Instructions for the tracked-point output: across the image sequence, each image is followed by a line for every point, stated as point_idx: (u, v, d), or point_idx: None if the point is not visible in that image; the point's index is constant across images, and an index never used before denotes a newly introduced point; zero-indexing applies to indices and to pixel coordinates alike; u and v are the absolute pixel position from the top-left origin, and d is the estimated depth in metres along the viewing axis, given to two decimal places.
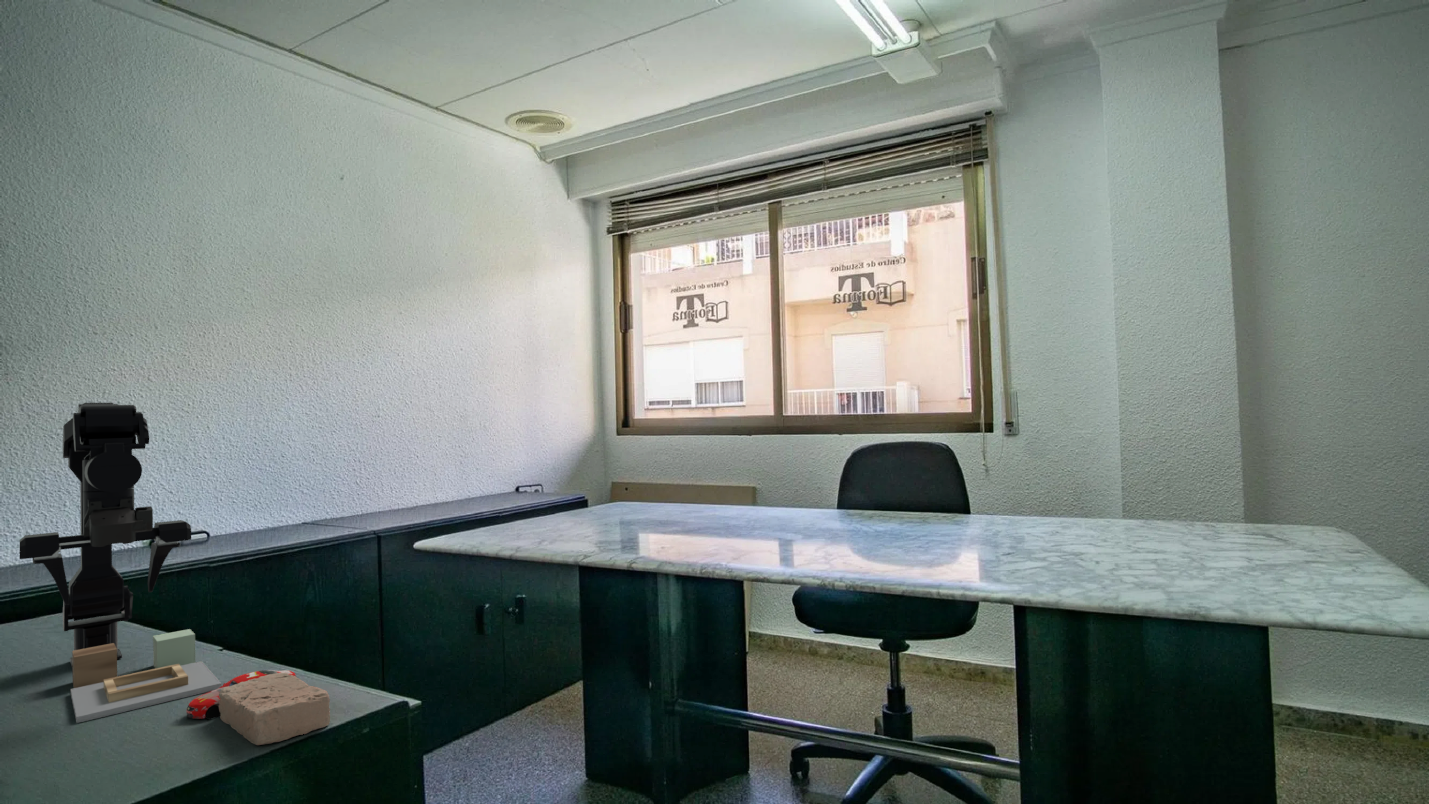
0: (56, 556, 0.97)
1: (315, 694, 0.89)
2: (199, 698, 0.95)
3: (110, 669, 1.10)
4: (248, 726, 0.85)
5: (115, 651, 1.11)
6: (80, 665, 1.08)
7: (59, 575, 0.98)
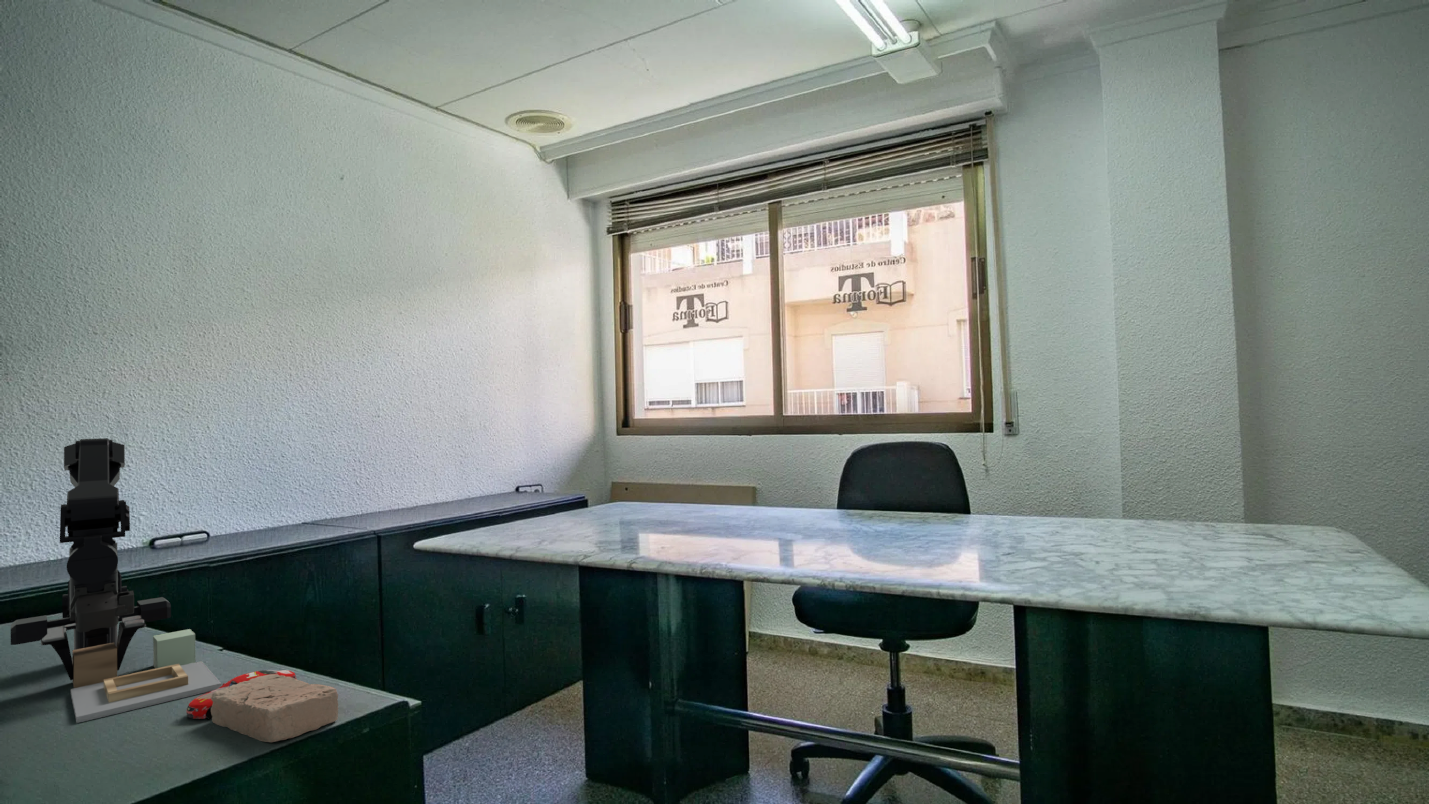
0: (62, 637, 1.07)
1: (323, 690, 0.90)
2: (199, 698, 0.95)
3: (111, 669, 1.10)
4: (258, 725, 0.86)
5: (115, 650, 1.11)
6: (80, 664, 1.08)
7: (65, 654, 1.08)
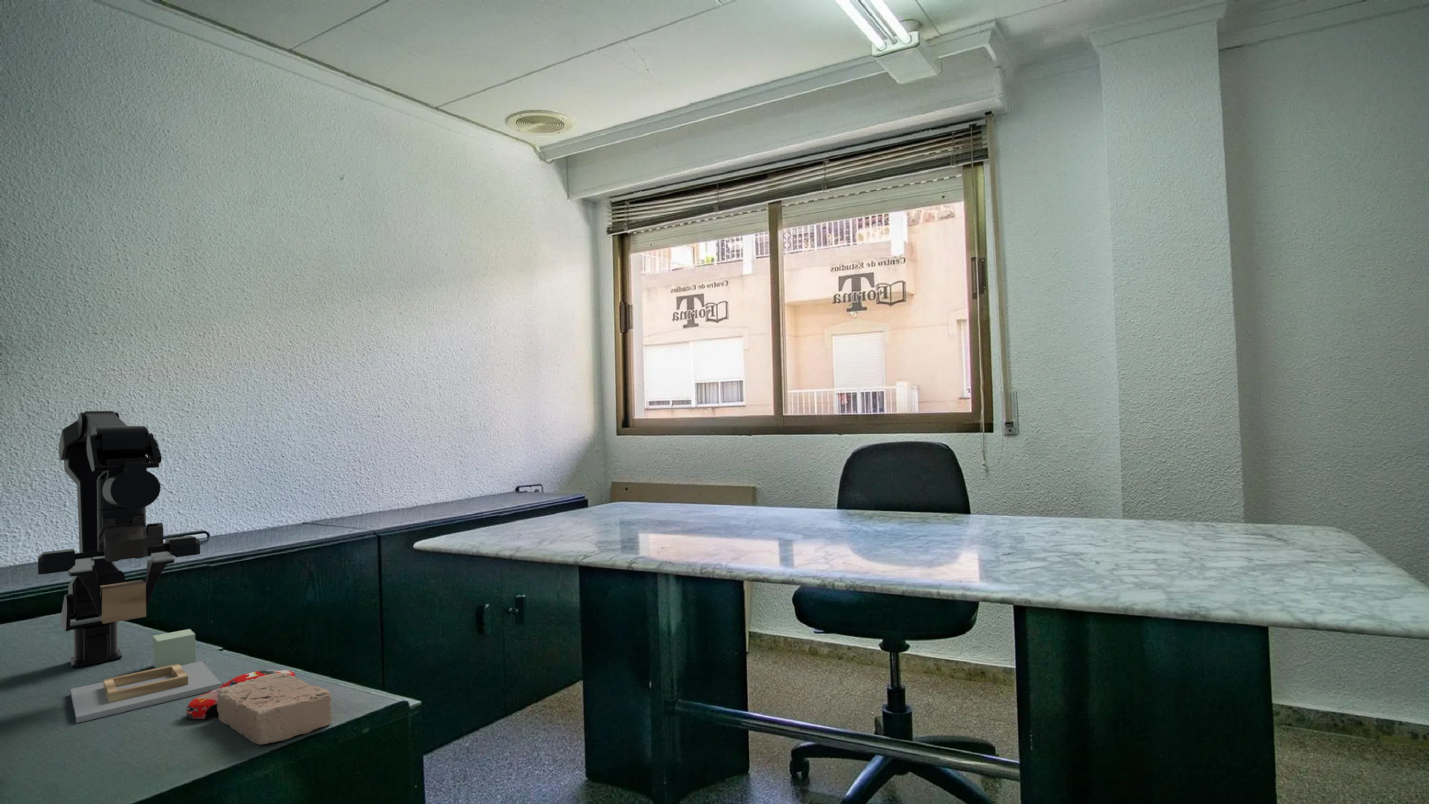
0: (90, 569, 1.04)
1: (317, 693, 0.89)
2: (199, 698, 0.95)
3: (139, 604, 1.07)
4: (250, 726, 0.85)
5: (144, 585, 1.07)
6: (108, 598, 1.04)
7: (93, 587, 1.04)
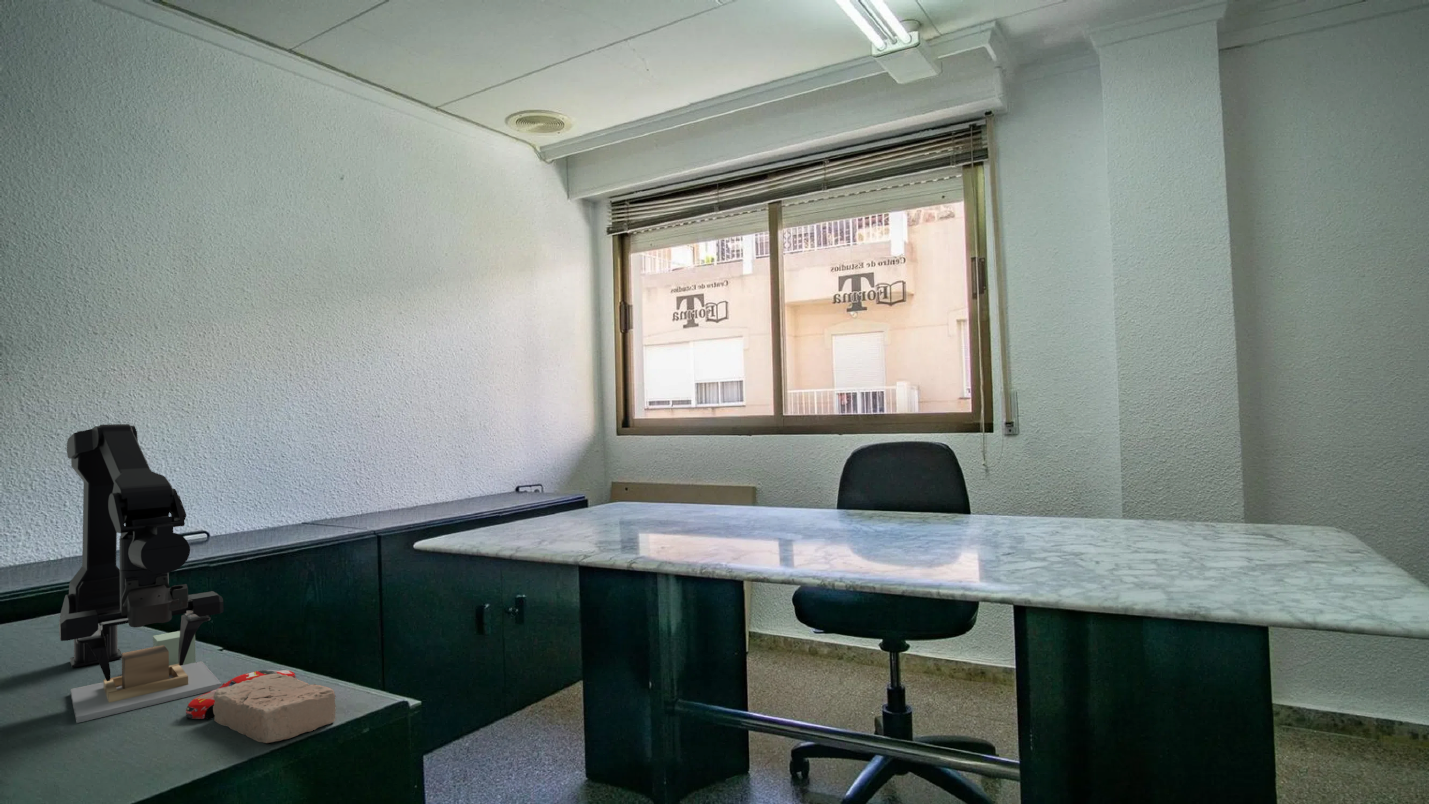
0: (99, 635, 1.00)
1: (320, 691, 0.90)
2: (198, 698, 0.95)
3: (162, 673, 1.05)
4: (254, 725, 0.86)
5: (167, 653, 1.05)
6: (131, 668, 1.02)
7: (101, 653, 1.01)
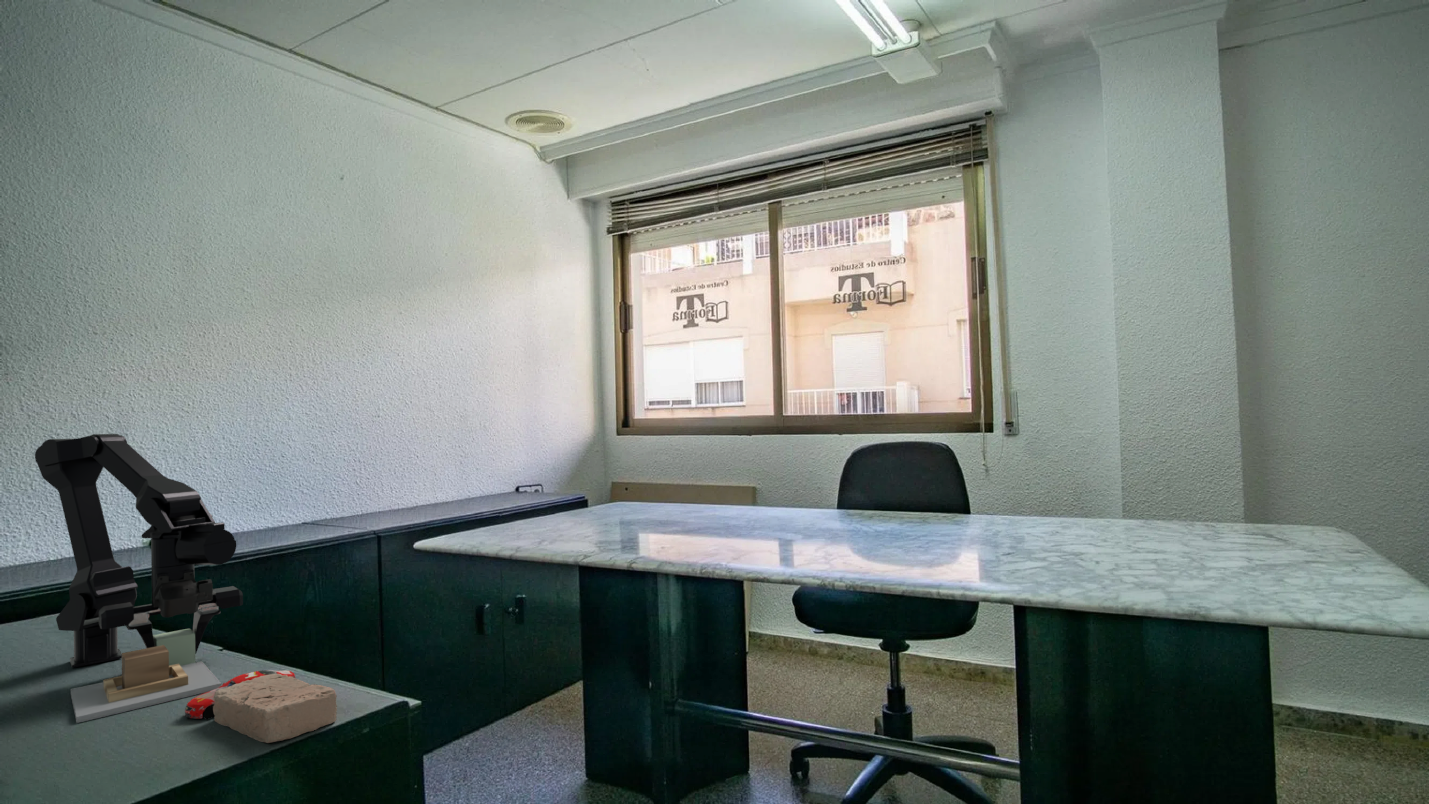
0: (146, 622, 1.14)
1: (322, 691, 0.90)
2: (197, 698, 0.95)
3: (162, 673, 1.05)
4: (256, 725, 0.86)
5: (167, 653, 1.05)
6: (131, 668, 1.02)
7: (149, 638, 1.15)
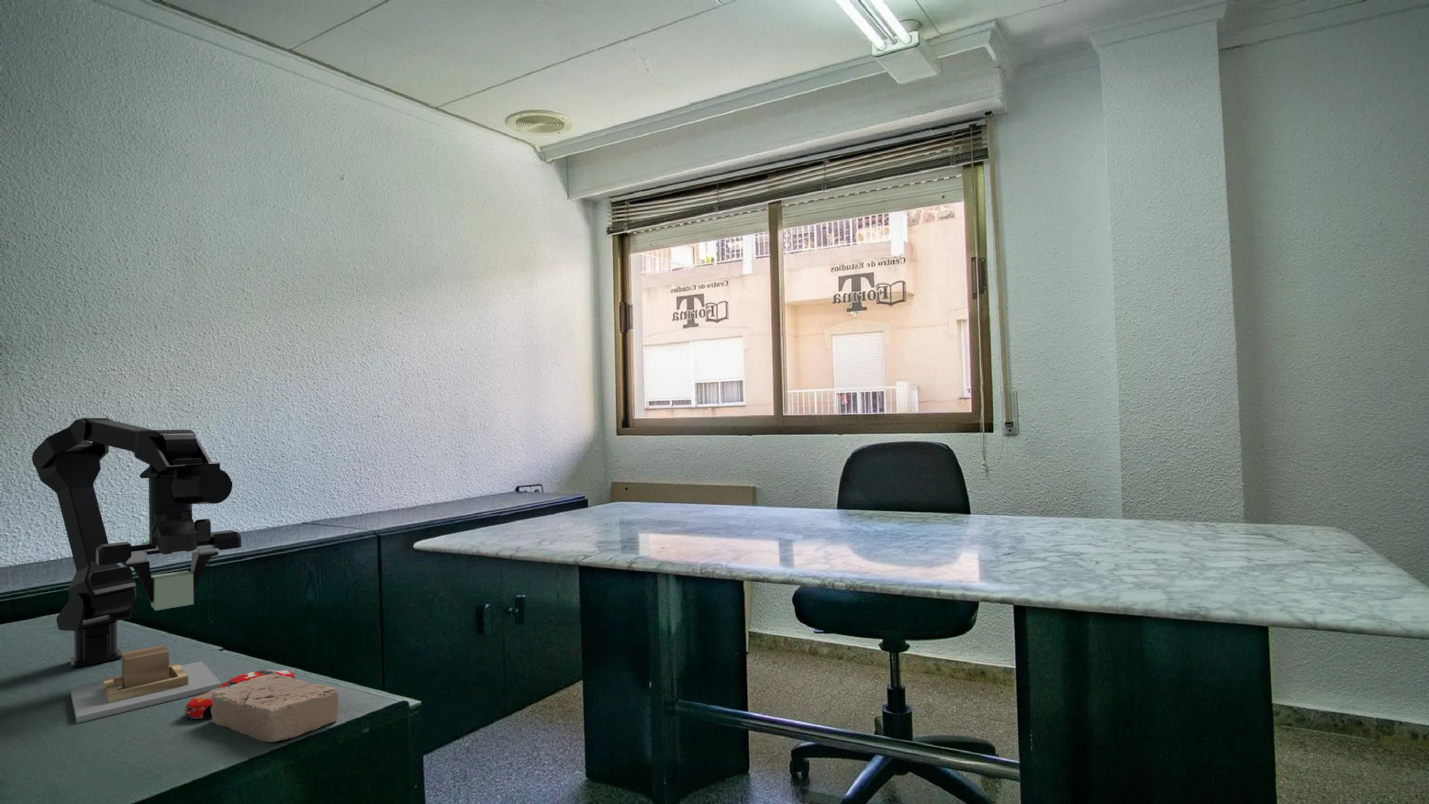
0: (144, 560, 1.13)
1: (324, 690, 0.90)
2: (197, 698, 0.95)
3: (162, 673, 1.05)
4: (258, 724, 0.86)
5: (167, 653, 1.05)
6: (131, 668, 1.02)
7: (146, 577, 1.14)
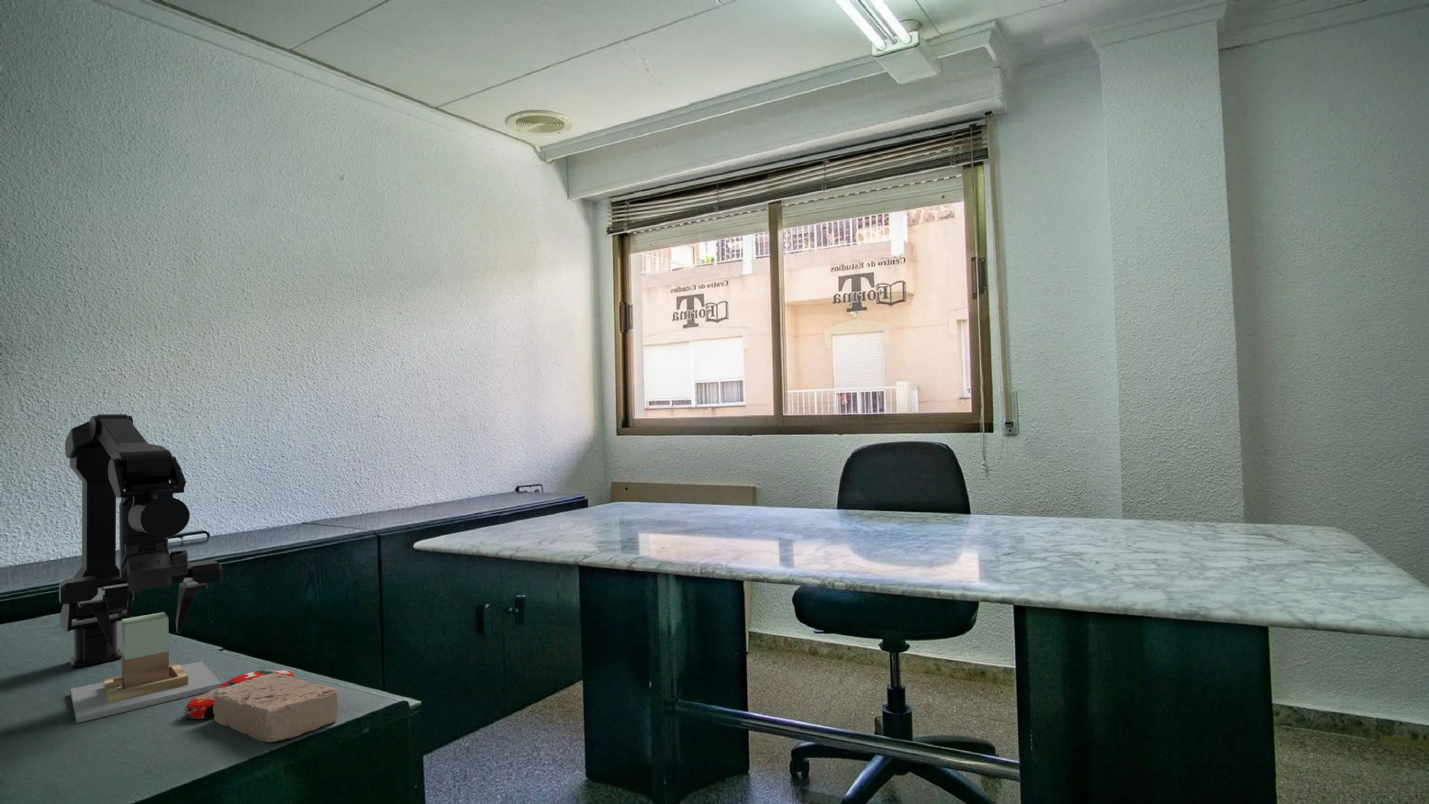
0: (101, 599, 1.01)
1: (323, 691, 0.90)
2: (197, 698, 0.95)
3: (162, 673, 1.05)
4: (257, 724, 0.86)
5: (167, 653, 1.05)
6: (131, 668, 1.02)
7: (104, 617, 1.01)
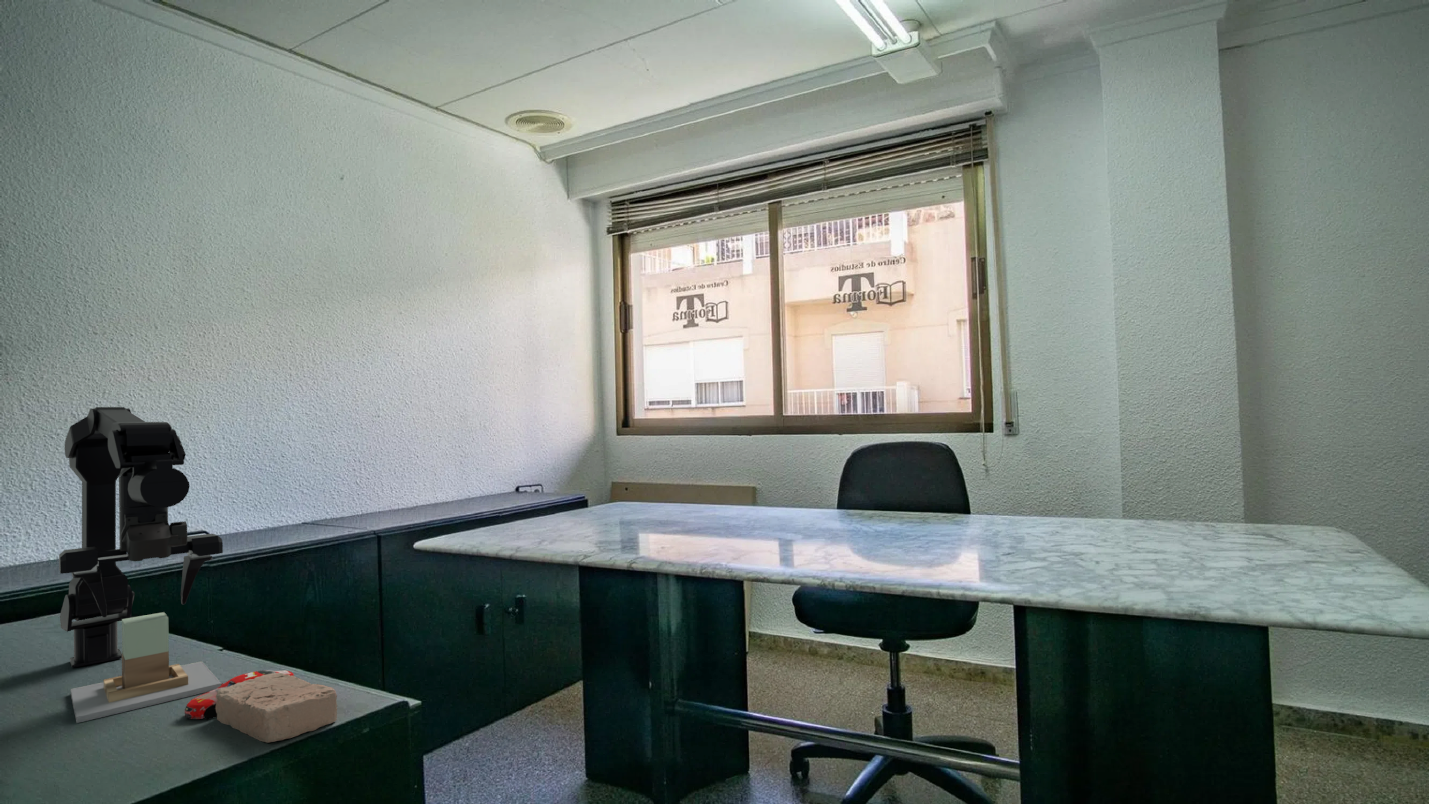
0: (95, 570, 1.00)
1: (322, 691, 0.90)
2: (197, 698, 0.95)
3: (162, 673, 1.05)
4: (256, 724, 0.86)
5: (167, 653, 1.05)
6: (131, 668, 1.02)
7: (98, 589, 1.01)
